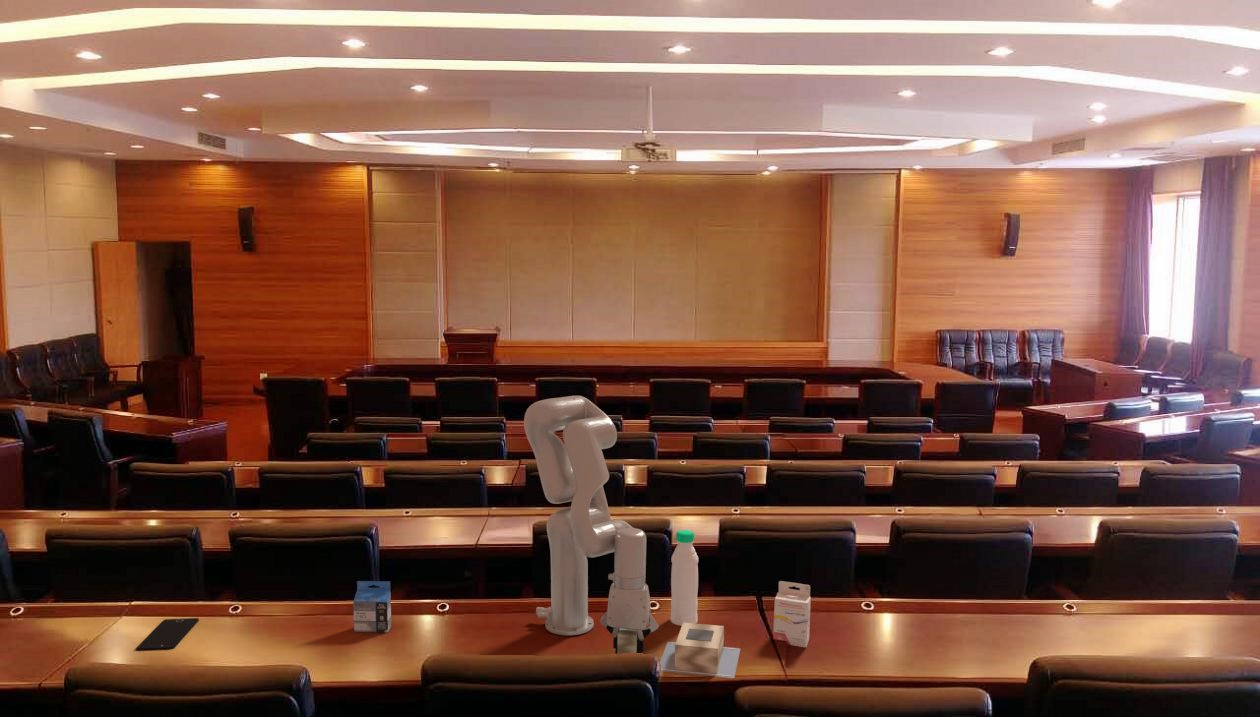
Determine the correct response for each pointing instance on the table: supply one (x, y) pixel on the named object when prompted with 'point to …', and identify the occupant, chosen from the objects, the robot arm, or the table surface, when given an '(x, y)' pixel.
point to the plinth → (699, 647)
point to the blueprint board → (725, 670)
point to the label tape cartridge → (372, 607)
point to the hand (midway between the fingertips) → (628, 651)
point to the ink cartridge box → (792, 614)
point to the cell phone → (167, 634)
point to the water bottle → (684, 580)
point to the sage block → (627, 641)
